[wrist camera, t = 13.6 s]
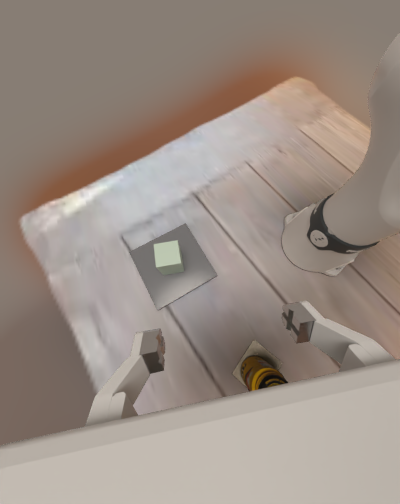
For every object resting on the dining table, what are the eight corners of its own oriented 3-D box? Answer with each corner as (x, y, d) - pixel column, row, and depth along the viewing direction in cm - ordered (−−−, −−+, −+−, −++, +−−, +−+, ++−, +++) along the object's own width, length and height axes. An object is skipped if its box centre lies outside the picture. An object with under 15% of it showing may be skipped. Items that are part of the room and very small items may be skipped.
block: (181, 252, 45) (177, 240, 38) (184, 271, 44) (181, 263, 36) (161, 255, 45) (153, 244, 37) (163, 275, 43) (155, 267, 36)
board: (185, 225, 49) (185, 223, 48) (217, 276, 44) (217, 275, 43) (130, 253, 46) (129, 252, 45) (158, 310, 42) (157, 310, 41)
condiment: (231, 373, 38) (245, 400, 27) (253, 339, 40) (275, 350, 29) (260, 399, 36) (288, 440, 25) (282, 362, 39) (317, 383, 27)
